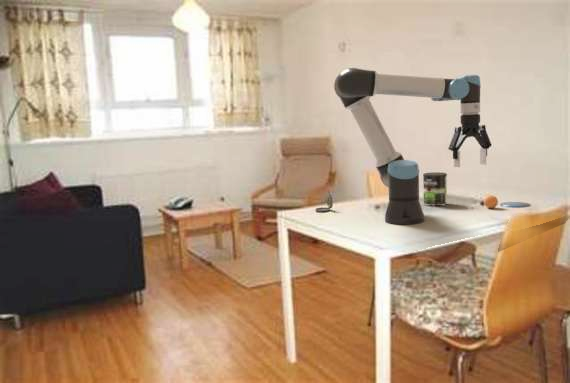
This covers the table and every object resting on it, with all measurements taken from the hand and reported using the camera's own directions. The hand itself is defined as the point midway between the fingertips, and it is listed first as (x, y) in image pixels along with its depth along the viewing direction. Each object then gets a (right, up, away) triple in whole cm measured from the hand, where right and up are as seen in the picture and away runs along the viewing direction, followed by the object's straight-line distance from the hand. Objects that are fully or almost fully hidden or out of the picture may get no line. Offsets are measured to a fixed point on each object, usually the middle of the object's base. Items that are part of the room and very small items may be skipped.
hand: (470, 165), depth 203 cm
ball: (+10, -15, +4) cm, 19 cm away
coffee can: (-8, -17, +21) cm, 28 cm away
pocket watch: (-59, -20, +21) cm, 65 cm away
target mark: (+22, -17, +8) cm, 29 cm away
